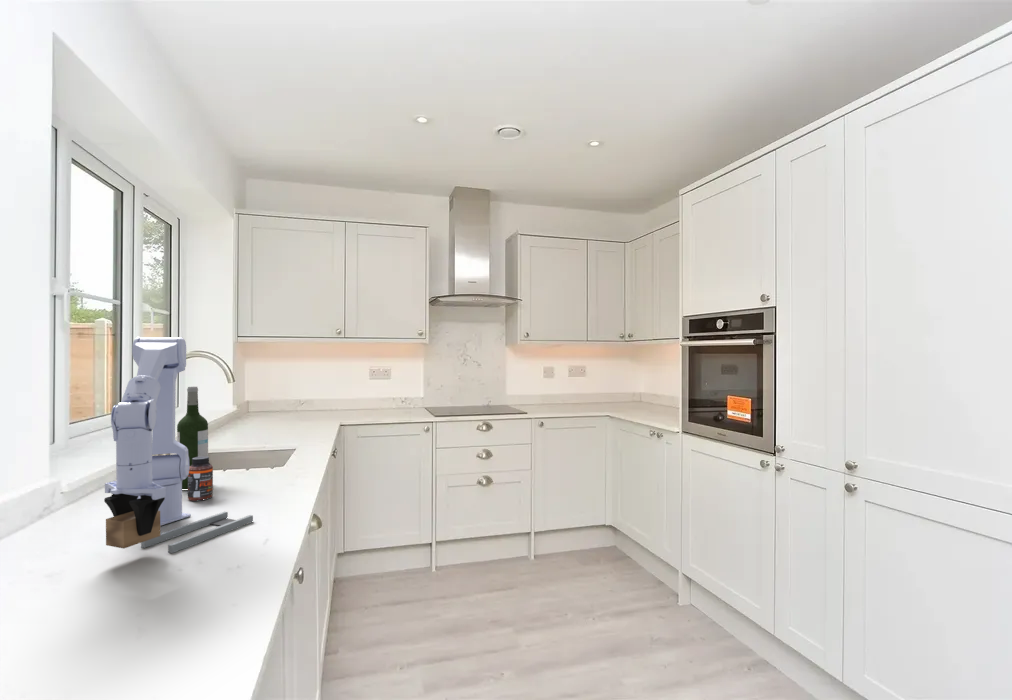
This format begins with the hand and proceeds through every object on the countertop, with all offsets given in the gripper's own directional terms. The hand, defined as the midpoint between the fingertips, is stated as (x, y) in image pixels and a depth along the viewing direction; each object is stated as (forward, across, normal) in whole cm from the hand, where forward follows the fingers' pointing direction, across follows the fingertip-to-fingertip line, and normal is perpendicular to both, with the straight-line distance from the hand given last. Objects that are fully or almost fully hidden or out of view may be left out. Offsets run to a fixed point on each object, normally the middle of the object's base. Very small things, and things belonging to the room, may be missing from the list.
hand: (134, 532), depth 100 cm
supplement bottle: (+5, -25, +34) cm, 43 cm away
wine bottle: (+6, -38, +42) cm, 57 cm away
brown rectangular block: (+2, 0, 0) cm, 2 cm away
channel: (+5, 0, +14) cm, 15 cm away
